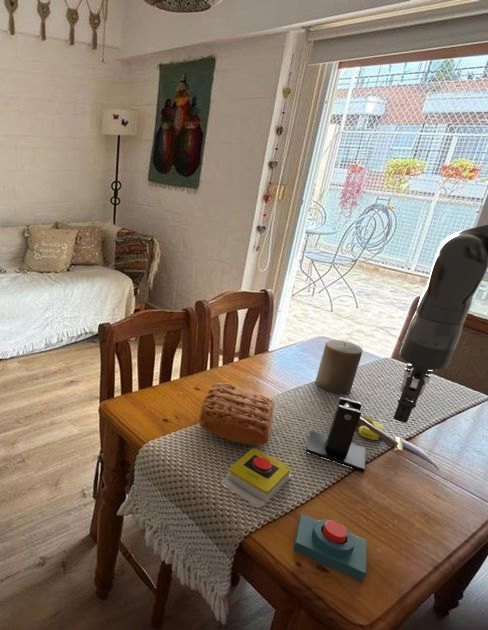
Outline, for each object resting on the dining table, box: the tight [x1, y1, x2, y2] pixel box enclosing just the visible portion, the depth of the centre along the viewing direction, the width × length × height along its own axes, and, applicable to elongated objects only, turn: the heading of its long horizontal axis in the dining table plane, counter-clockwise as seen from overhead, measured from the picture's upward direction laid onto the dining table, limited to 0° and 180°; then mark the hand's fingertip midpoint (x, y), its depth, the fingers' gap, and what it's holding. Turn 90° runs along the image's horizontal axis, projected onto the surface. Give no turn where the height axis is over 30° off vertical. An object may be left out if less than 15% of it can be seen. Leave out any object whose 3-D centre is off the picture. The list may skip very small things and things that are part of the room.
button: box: [323, 520, 348, 544], centre depth 80 cm, size 4×4×2 cm
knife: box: [334, 410, 440, 472], centre depth 111 cm, size 8×3×25 cm
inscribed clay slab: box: [198, 382, 275, 446], centre depth 114 cm, size 22×17×8 cm
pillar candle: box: [314, 339, 364, 395], centre depth 133 cm, size 10×10×15 cm
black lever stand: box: [305, 396, 366, 474], centre depth 104 cm, size 12×9×14 cm
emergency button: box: [221, 447, 292, 508], centre depth 97 cm, size 9×4×15 cm
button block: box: [292, 513, 368, 583], centre depth 81 cm, size 11×8×4 cm
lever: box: [343, 402, 404, 456], centre depth 101 cm, size 14×5×2 cm, turn 58°
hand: (402, 411), depth 88 cm, fingers open, 8 cm apart
